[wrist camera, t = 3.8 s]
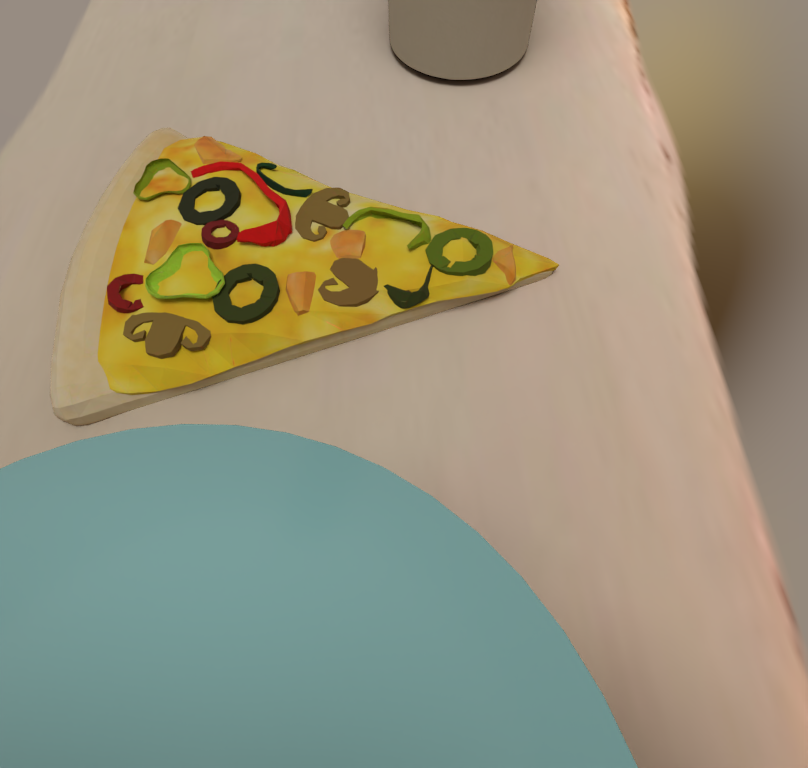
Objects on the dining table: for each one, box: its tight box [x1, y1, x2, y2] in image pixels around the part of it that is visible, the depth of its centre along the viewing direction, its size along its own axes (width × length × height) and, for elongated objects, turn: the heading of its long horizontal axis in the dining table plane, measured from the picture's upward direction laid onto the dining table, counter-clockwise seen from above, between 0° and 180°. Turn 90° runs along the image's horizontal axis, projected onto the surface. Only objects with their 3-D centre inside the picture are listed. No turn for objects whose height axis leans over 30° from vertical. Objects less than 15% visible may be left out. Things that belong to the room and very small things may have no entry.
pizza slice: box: [50, 128, 559, 426], centre depth 21 cm, size 16×21×3 cm
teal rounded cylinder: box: [0, 424, 638, 768], centre depth 9 cm, size 6×6×14 cm
